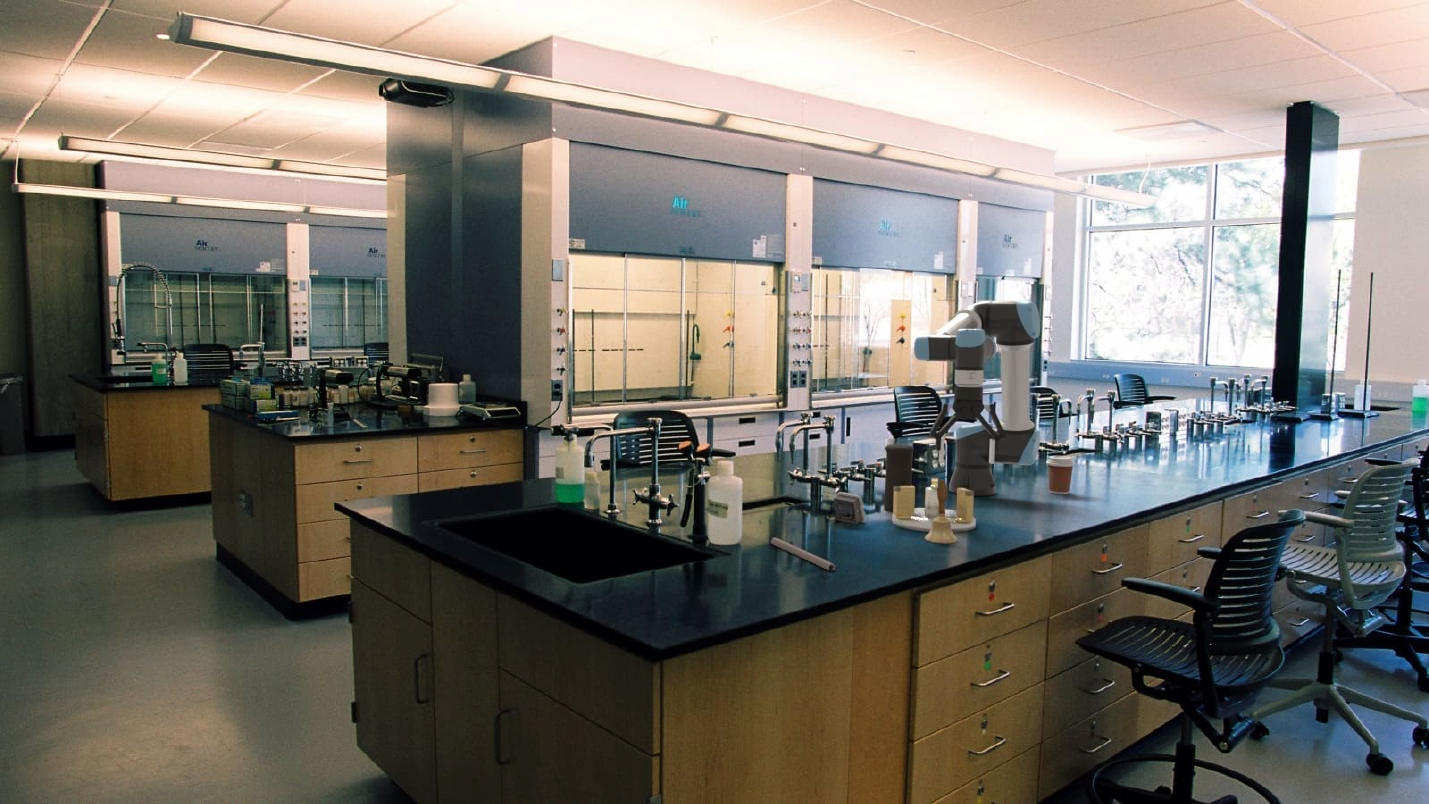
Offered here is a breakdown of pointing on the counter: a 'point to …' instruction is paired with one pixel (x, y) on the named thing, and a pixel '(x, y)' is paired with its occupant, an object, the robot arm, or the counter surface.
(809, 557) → the grey tube
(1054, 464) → the coffee cup
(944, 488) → the hand bell
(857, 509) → the electrical switch
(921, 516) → the levelling plate
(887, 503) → the container
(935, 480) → the brass knob
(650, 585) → the counter surface
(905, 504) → the tan upright block
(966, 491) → the tan upright block
